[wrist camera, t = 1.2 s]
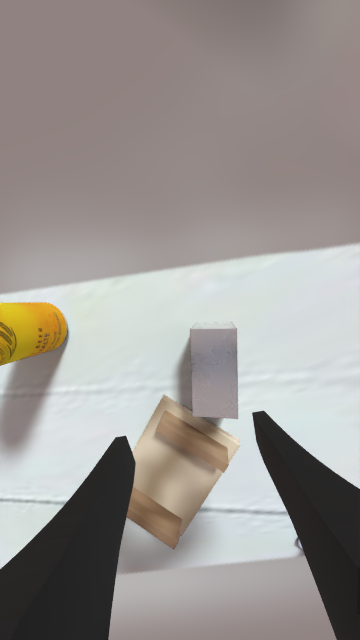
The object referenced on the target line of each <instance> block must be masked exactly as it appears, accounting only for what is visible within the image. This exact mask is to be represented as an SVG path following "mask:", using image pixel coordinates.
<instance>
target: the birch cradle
mask: <svg viewBox="0 0 360 640" xmlns="http://www.w3.org/2000/svg"><path fill="white" fill-rule="evenodd" d="M239 447H240V441H239V439H237V438H235V437H234V436H232V435H230V434H229V433H227V432H225V431H224V430H222V429H220V428H219V427H217V426H215V425H214V424H212V423H210V422H209V421H207V420H205V419H204V418H202V417H198V416H193V412H192V411H190V410H189V409H187V408H185V407H184V406H182V405H180V404H179V403H177V402H175V401H174V400H172V399H171V398H169V397H167V396H166V395H163V397H162V399H161V401H160V403H159V404H158V406H157V408H156V410H155V412H154V414H153V415H152V417H151V419H150V421H149V423H148V425H147V426H146V428H145V430H144V432H143V434H142V435H141V437H140V439H139V441H138V443H137V445H136V446H135V448H134V450H133V452H132V454H133V456H134V459H135V462H136V466H135V476H134V484H133V489H132V494H131V498H130V503H129V507H128V512H127V516H126V517H128V518H129V519H131V520H132V521H134V522H135V523H137V524H138V525H139V526H141V527H142V528H144V529H145V530H147V531H148V532H150V533H151V534H152V535H154V536H155V537H157V538H158V539H160V540H161V541H163V542H164V543H165V544H167V545H168V546H170V547H171V548H173V549H174V548H175V547H176V545H177V544H178V540H179V535H181V536H182V534H183V533H184V531H185V530H186V528H187V527H188V525H189V524H190V522H191V521H192V519H193V517H194V516H195V514H196V513H197V511H198V510H199V508H200V507H201V505H202V504H203V502H204V501H205V499H206V498H207V496H208V494H209V493H210V491H211V490H212V488H213V487H214V485H215V484H216V482H217V481H218V479H219V478H220V476H221V474H222V473H224V472H225V470H226V469H227V467H228V466H229V462H230V461H231V459H232V458H233V456H234V455H235V453H236V451H237V450H238V448H239Z"/></svg>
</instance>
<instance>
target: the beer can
mask: <svg viewBox="0 0 360 640" xmlns="http://www.w3.org/2000/svg"><path fill="white" fill-rule="evenodd" d="M67 329H68V326H67V321H66V318H65V316H64V315H63V313H62V312H61V311H60V310H59V309H58V308H57V307H56V306H54V305H52V304H50V303H0V366H1V365H4V364H7V363H11V362H14V361H17V360H21V359H24V358H28V357H31V356H34V355H38V354H41V353H44V352H48V351H51V350H54V349H56V348H58V347H59V346H60V345H61V344H62V343H63V341H64V339H65V337H66V334H67Z"/></svg>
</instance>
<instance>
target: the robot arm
mask: <svg viewBox="0 0 360 640" xmlns="http://www.w3.org/2000/svg"><path fill="white" fill-rule="evenodd" d="M252 414H253V421H254V428H255V435H256V441H257V444H258V447H259V450H260V453H261V456H262V458H263V461H264V463H265V465H266V468H267V470H268V472H269V474H270V476H271V478H272V480H273V482H274V484H275V486H276V489H277V491H278V493H279V495H280V497H281V499H282V501H283V503H284V505H285V507H286V509H287V512H288V514H289V516H290V518H291V521H292V523H293V525H294V528H295V530H296V533H297V536H298V538H299V539H298V544H299V547H300V548H301V549H303V551H304V553H305V556H306V559H307V561H308V564H309V566H310V569H311V572H312V574H313V577H314V579H315V582H316V585H317V587H318V590H319V593H320V595H321V598H322V601H323V603H324V606H325V609H326V611H327V614H328V617H329V619H330V622H331V625H332V627H333V630H334V633H335V636H336V639H337V640H360V489H359V488H357V487H356V486H354V485H353V484H351V483H349V482H348V481H347V480H345V479H344V478H342V477H341V476H339V475H338V474H336V473H335V472H334V471H332V470H331V469H329V468H328V467H327V466H325V465H324V464H323V463H321V462H320V461H319V460H317V459H316V458H315V457H314V456H312V455H311V454H310V453H309V452H308V451H306V450H305V449H304V448H303V447H302V446H300V445H299V444H298V443H297V442H296V441H295V440H294V439H292V438H291V437H290V436H289V435H288V434H287V433H286V432H285V431H284V430H283V429H282V428H281V427H280V426H279V425H277V424H276V423H275V422H274V421H273V419H272V418H271V417H270V416H269V415H268V414H267V413H266V412H265V411H259V412H254V413H252ZM135 466H136V462H135V459H134V456H133V454H132V451H131V448H130V445H129V443H128V440H127V437H126V436H122V437H116V438H115V439H114V441H113V442H112V443H111V445H110V446H109V448H108V449H107V450H106V452H105V453H104V455H103V456H102V458H101V459H100V460H99V462H98V463H97V464H96V466H95V467H94V469H93V470H92V471H91V473H90V474H89V475H88V477H87V478H86V479H85V481H84V482H83V483H82V484H81V486H80V487H79V488H78V489H77V491H76V492H75V493H74V494H73V496H72V497H71V498H70V499H69V500H68V502H67V503H66V504H65V505H64V506H63V507H62V509H61V510H60V511H59V512H58V513H57V514H56V515H55V516H54V517H53V519H52V520H51V521H50V522H49V523H48V524H47V525H46V526H45V527H44V528H43V529H42V530H41V531H40V532H39V533H38V534H37V535H36V536H35V537H34V538H33V539H32V540H31V541H30V542H29V543H28V544H27V545H26V546H25V547H24V548H23V549H22V550H21V551H20V552H19V553H18V554H17V555H16V556H14V557H13V558H12V559H11V560H10V561H9V562H8V563H7V564H6V565H5V566H4V567H2V568H1V569H0V640H108V636H109V627H110V618H111V609H112V601H113V593H114V586H115V578H116V571H117V564H118V557H119V550H120V545H121V539H122V534H123V530H124V525H125V521H126V516H127V512H128V507H129V503H130V498H131V494H132V489H133V484H134V476H135Z"/></svg>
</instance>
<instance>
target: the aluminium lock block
mask: <svg viewBox="0 0 360 640" xmlns="http://www.w3.org/2000/svg"><path fill="white" fill-rule="evenodd" d="M190 346H191V376H192V407H193V416H198V417H215V418H232V419H238V372H237V328H236V327H235V325H234V324H233V322H213V323H195V324H194V325H193V326H192V327H191V329H190Z"/></svg>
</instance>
